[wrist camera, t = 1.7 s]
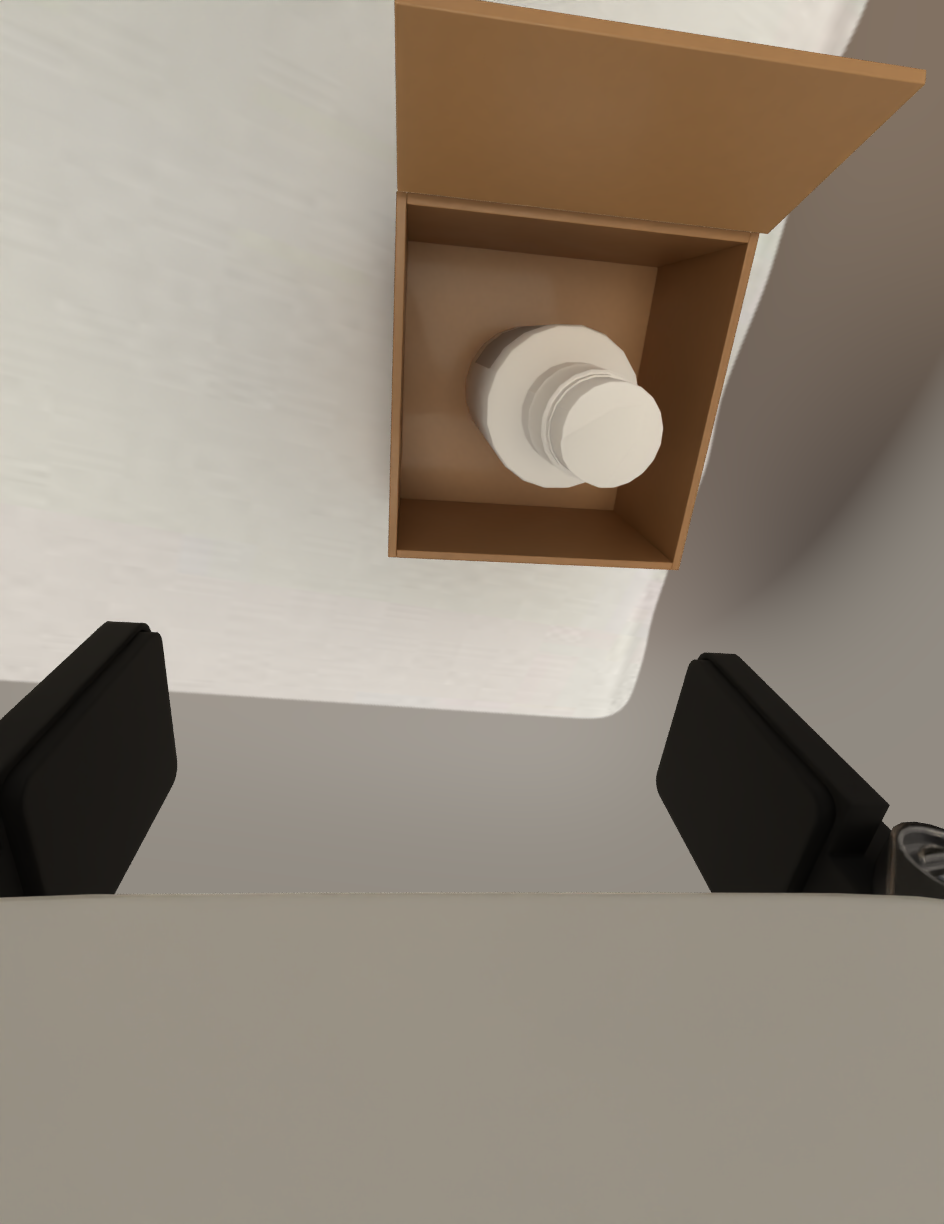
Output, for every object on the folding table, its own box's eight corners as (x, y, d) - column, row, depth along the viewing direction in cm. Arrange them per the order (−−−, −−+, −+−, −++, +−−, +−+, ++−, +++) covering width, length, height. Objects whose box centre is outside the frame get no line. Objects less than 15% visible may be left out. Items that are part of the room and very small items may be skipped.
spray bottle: (600, 390, 36) (753, 437, 20) (517, 470, 38) (596, 574, 21) (526, 298, 34) (632, 265, 17) (440, 388, 35) (464, 435, 19)
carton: (401, 232, 32) (396, 190, 23) (663, 261, 34) (760, 232, 24) (394, 502, 38) (388, 557, 29) (616, 514, 40) (678, 570, 31)
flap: (397, 191, 22) (397, 180, 22) (767, 234, 24) (768, 224, 24) (394, 2, 15) (394, -15, 15) (925, 84, 17) (927, 69, 17)
